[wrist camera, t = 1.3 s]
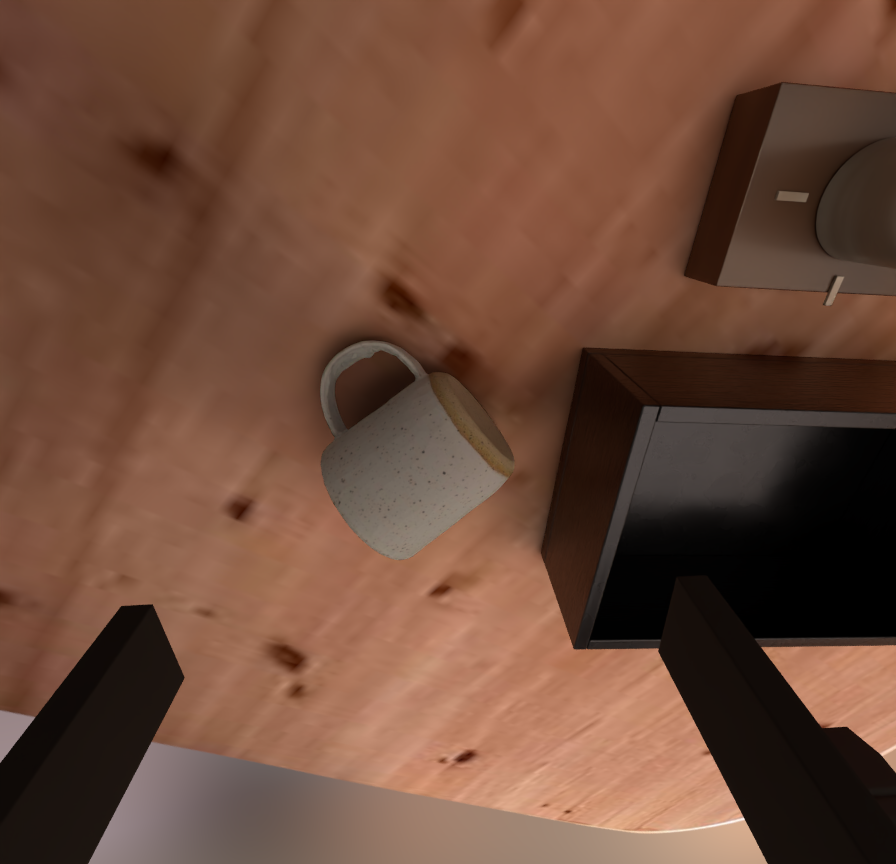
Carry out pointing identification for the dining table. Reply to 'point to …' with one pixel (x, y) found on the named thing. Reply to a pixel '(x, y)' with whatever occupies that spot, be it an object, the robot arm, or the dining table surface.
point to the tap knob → (862, 208)
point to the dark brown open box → (727, 496)
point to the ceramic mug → (410, 457)
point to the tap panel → (787, 190)
